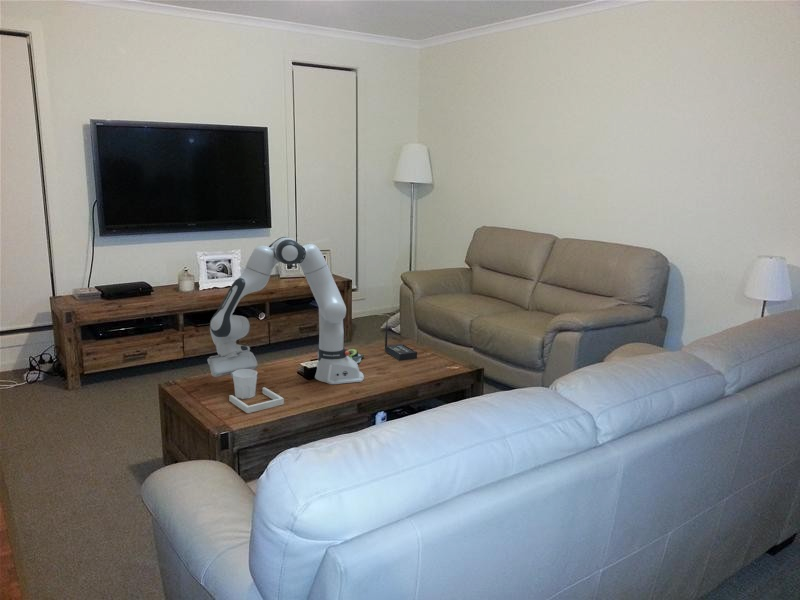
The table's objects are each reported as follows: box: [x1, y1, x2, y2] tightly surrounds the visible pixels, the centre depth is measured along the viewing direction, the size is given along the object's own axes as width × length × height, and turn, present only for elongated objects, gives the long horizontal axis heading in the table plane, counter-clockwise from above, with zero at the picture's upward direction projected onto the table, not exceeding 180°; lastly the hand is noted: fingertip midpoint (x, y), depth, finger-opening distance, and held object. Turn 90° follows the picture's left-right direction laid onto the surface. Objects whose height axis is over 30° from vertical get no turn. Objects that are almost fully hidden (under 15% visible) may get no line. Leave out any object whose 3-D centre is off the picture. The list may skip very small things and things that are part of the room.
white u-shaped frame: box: [228, 386, 285, 414], centre depth 253 cm, size 15×16×2 cm
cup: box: [232, 369, 258, 400], centre depth 259 cm, size 10×10×10 cm
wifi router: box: [384, 318, 418, 362], centre depth 324 cm, size 20×14×17 cm
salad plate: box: [347, 348, 365, 365], centre depth 310 cm, size 19×18×5 cm
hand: (239, 381), depth 262 cm, fingers closed, pressing on cup
